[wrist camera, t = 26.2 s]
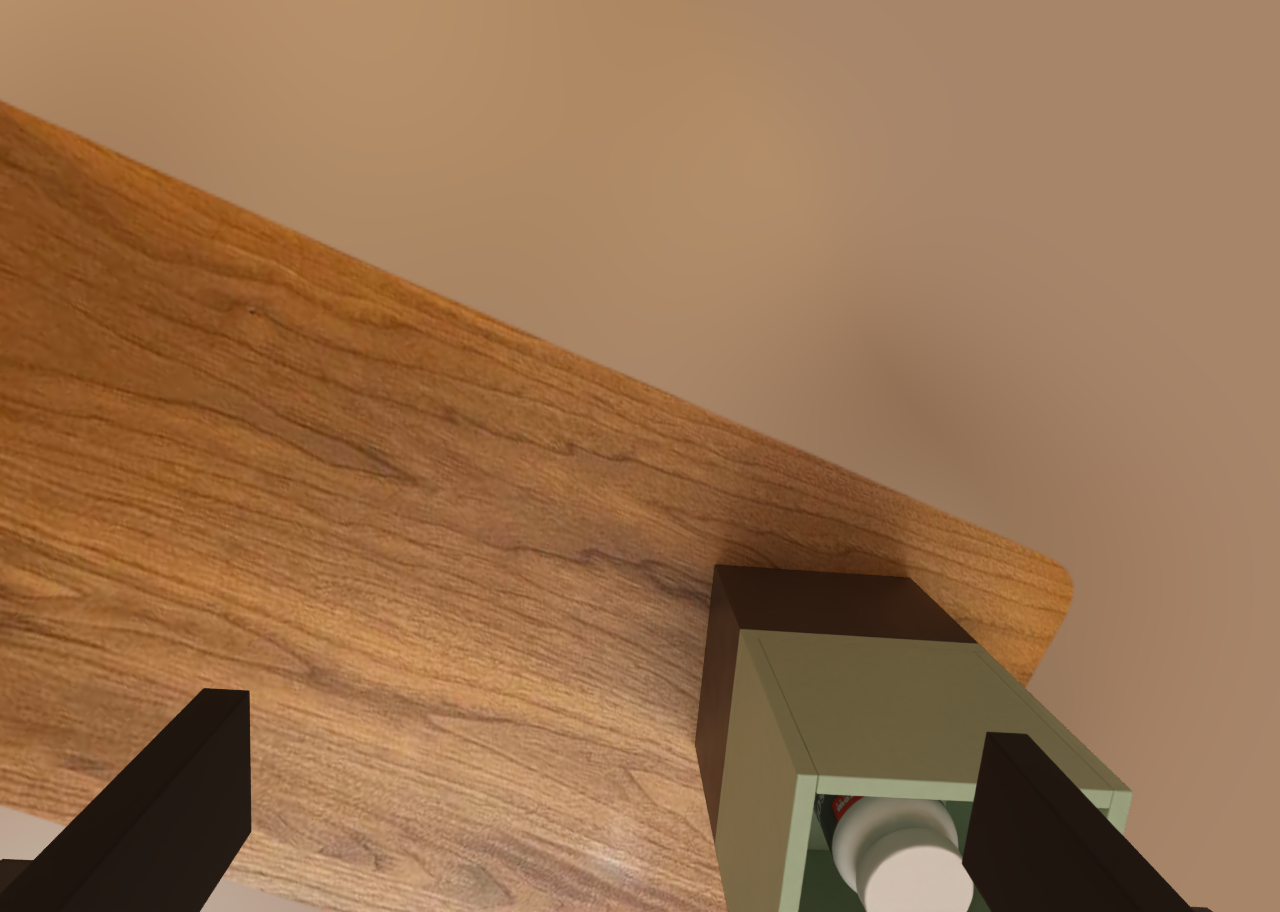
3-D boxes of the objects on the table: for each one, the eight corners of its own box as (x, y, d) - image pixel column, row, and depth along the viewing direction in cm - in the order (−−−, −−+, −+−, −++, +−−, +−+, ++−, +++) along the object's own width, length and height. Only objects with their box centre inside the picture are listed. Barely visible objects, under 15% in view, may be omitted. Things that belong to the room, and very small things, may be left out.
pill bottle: (819, 696, 43) (883, 817, 33) (918, 724, 43) (1009, 851, 34) (782, 790, 44) (833, 934, 34) (879, 816, 44) (956, 965, 35)
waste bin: (910, 577, 53) (1134, 791, 31) (881, 756, 56) (1068, 1073, 33) (714, 564, 52) (797, 774, 30) (694, 745, 55) (757, 1063, 33)
